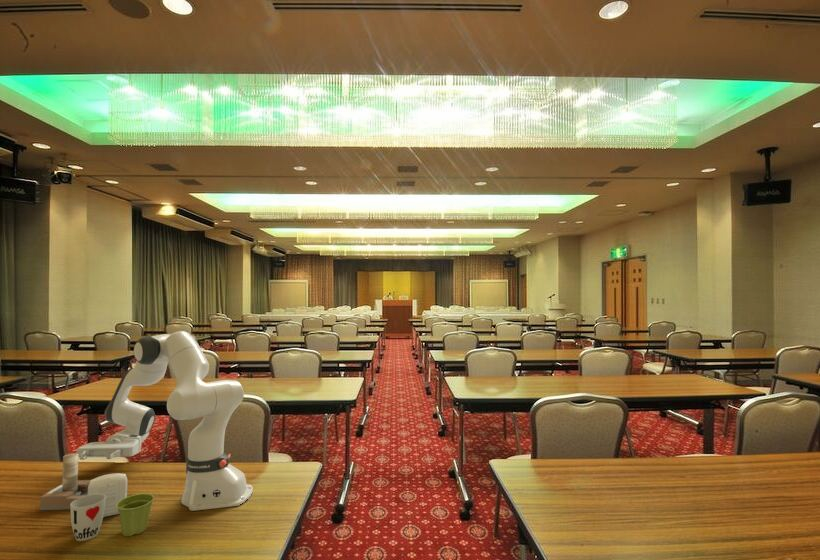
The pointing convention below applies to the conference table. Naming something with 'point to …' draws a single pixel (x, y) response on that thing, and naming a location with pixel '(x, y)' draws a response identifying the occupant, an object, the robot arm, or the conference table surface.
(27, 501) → the conference table surface
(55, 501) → the keyhole dock
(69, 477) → the beige tall cylinder
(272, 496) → the conference table surface
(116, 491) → the photo printer
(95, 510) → the cup
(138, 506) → the plant pot
